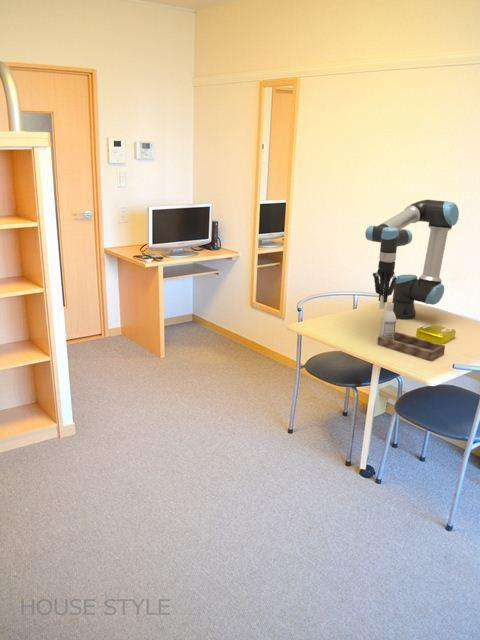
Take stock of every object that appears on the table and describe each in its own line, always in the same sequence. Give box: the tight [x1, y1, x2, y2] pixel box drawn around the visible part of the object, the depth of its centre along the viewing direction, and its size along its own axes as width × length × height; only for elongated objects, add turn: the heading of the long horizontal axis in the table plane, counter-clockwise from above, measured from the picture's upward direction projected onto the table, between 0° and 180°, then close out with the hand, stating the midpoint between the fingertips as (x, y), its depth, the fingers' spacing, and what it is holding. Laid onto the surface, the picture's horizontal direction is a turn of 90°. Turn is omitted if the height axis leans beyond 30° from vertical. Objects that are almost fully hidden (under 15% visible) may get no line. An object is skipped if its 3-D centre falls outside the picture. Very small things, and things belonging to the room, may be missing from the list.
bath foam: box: [379, 301, 397, 341], centre depth 262 cm, size 7×7×20 cm
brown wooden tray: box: [377, 331, 446, 362], centre depth 256 cm, size 28×13×4 cm, turn 45°
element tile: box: [415, 323, 457, 345], centre depth 272 cm, size 15×15×5 cm
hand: (382, 308), depth 263 cm, fingers closed
